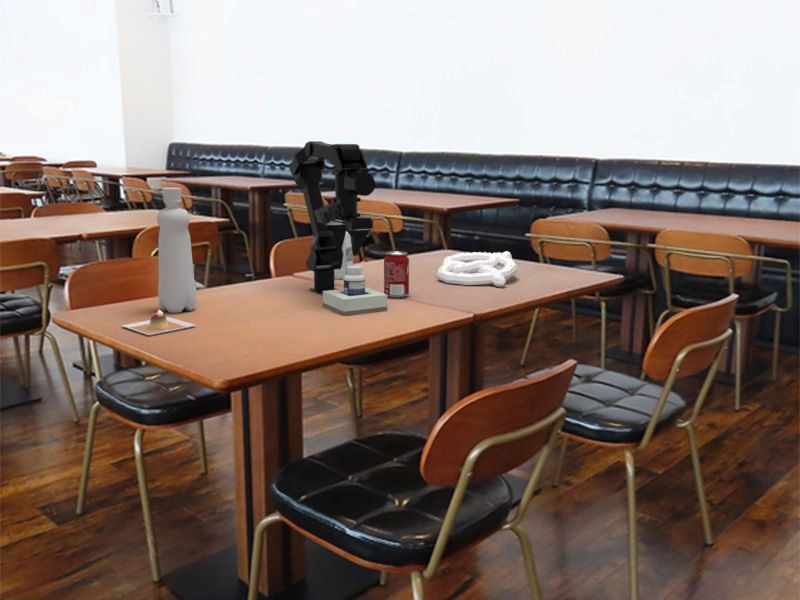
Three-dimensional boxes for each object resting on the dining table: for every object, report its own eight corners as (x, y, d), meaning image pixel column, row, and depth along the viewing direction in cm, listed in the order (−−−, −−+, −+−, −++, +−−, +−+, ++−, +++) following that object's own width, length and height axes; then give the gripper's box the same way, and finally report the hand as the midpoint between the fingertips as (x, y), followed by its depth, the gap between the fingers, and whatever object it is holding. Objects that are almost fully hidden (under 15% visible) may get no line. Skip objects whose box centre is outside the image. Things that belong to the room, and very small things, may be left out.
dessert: (120, 330, 174) (119, 309, 173) (168, 321, 183) (167, 301, 182) (148, 339, 166) (147, 317, 165) (196, 329, 175) (195, 309, 174)
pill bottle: (343, 302, 197) (343, 264, 195) (364, 302, 198) (364, 264, 196) (343, 306, 192) (343, 268, 190) (365, 306, 192) (365, 268, 190)
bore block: (323, 306, 197) (322, 291, 196) (364, 301, 203) (364, 286, 202) (344, 315, 187) (344, 299, 186) (387, 310, 193) (387, 294, 192)
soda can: (406, 299, 206) (406, 254, 204) (381, 298, 208) (381, 254, 205) (410, 294, 213) (411, 251, 210) (386, 293, 214) (387, 250, 212)
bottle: (184, 304, 198) (178, 186, 192) (204, 309, 192) (198, 188, 186) (152, 309, 192) (144, 188, 186) (171, 315, 186) (164, 190, 180)
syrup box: (337, 275, 242) (336, 229, 239) (354, 276, 240) (353, 230, 237) (328, 278, 236) (328, 231, 233) (346, 279, 234) (345, 232, 231)
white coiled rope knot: (514, 293, 222) (514, 272, 220) (433, 292, 227) (432, 271, 225) (520, 266, 248) (520, 246, 246) (447, 265, 253) (446, 246, 251)
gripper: (302, 192, 203) (303, 251, 206) (334, 196, 187) (335, 260, 190) (340, 190, 209) (341, 248, 212) (374, 195, 193) (374, 257, 196)
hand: (346, 253), depth 202 cm, fingers open, 9 cm apart
